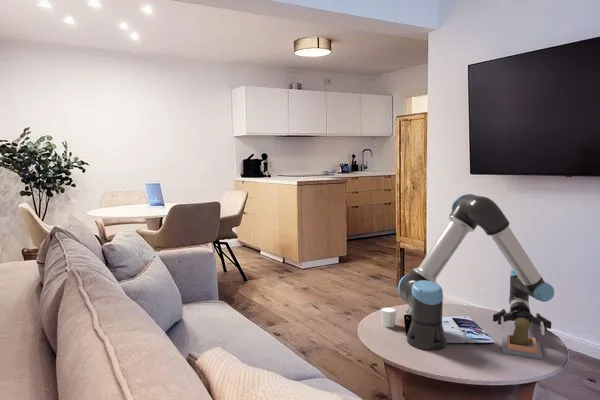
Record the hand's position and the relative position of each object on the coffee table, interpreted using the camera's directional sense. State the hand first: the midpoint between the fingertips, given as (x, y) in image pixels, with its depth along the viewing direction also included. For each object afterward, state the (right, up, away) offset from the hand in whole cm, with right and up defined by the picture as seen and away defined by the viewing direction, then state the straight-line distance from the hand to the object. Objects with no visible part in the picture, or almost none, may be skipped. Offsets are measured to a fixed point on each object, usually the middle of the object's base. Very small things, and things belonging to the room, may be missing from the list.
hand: (522, 328), depth 163 cm
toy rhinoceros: (-28, -6, +38) cm, 48 cm away
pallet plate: (+1, -9, +4) cm, 10 cm away
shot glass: (-44, -7, +30) cm, 54 cm away
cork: (+1, -7, +4) cm, 8 cm away
